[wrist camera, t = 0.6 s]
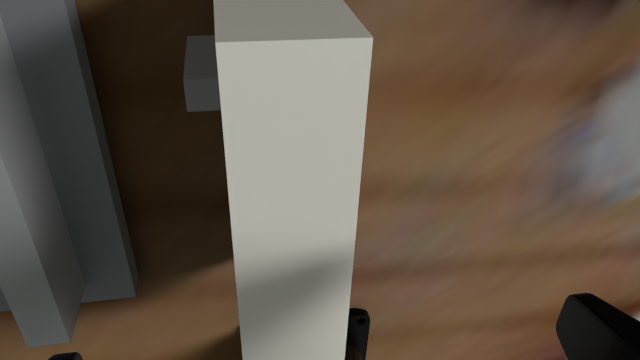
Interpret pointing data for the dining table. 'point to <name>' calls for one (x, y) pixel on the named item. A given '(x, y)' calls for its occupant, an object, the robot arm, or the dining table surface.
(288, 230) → the white rectangular block
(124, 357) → the dining table surface
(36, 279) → the clip plinth
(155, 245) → the dining table surface
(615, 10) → the dining table surface
